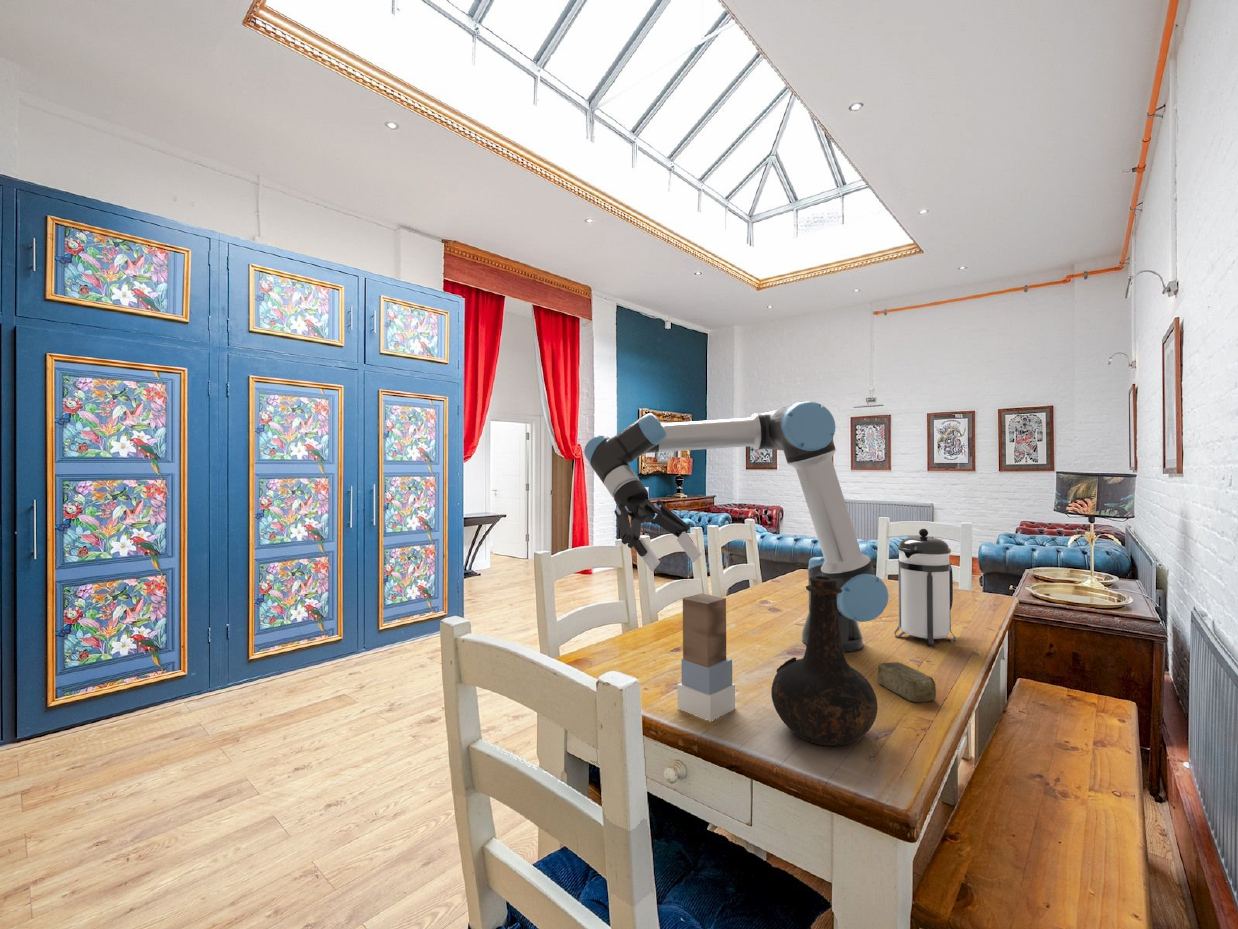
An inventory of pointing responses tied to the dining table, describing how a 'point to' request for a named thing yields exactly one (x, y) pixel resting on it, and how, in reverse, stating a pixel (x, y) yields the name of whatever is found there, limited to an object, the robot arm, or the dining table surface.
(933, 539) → the coffee press
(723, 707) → the tower base block
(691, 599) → the walnut block
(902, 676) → the stone block
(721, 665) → the tower top block
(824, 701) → the dark brown bulbous vessel
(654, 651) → the dining table surface
